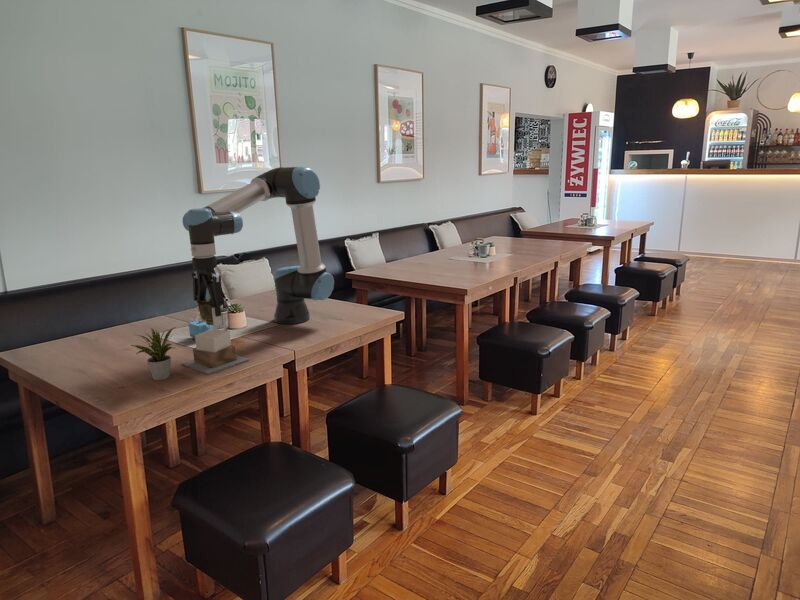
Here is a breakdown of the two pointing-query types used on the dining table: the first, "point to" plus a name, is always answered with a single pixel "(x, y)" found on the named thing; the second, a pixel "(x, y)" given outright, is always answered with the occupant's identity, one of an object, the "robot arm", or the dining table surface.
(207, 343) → the block top
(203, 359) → the block base
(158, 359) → the house plant
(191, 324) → the blue sponge
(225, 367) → the felt mat
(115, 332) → the dining table surface
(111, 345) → the dining table surface
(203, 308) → the olive green rounded piece
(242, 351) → the dining table surface
